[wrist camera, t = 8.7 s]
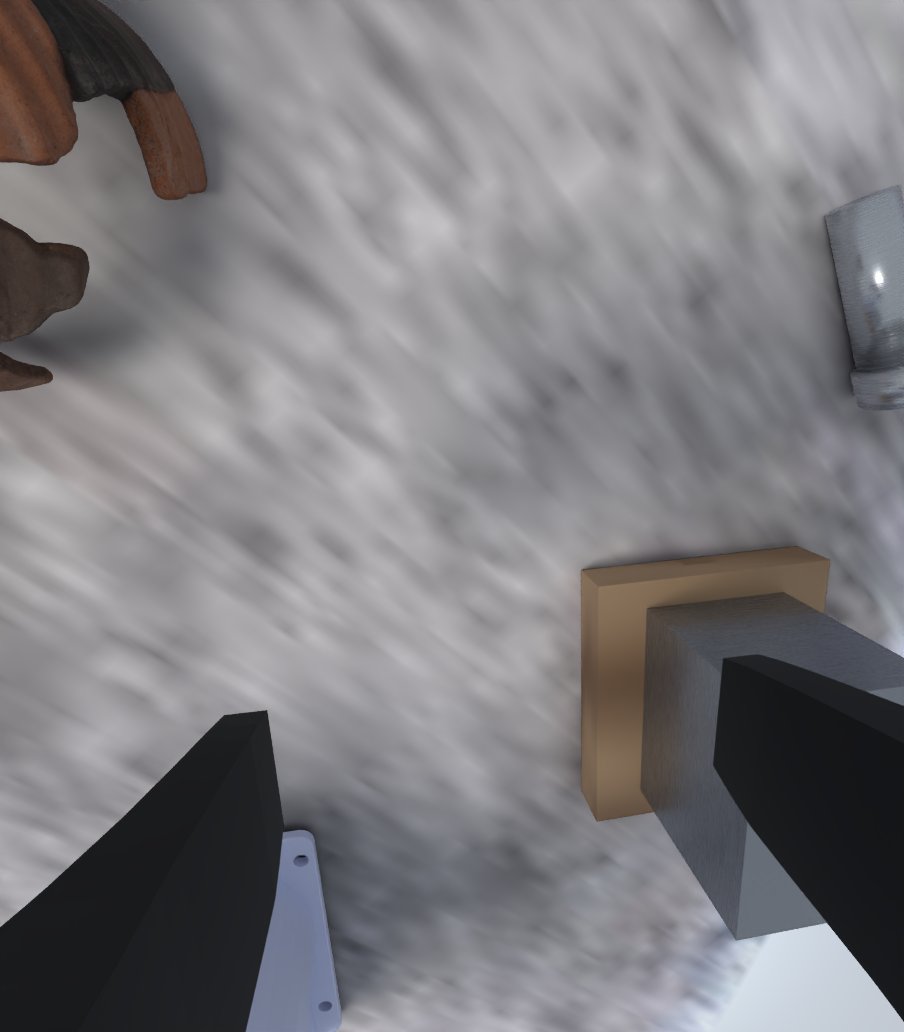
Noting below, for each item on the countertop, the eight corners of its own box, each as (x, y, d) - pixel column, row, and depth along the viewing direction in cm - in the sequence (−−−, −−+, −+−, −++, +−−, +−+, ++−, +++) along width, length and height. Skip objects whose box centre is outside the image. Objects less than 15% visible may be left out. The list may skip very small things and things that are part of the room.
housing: (764, 769, 21) (910, 919, 15) (640, 789, 20) (743, 952, 15) (784, 592, 19) (957, 687, 13) (646, 608, 18) (767, 714, 13)
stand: (775, 760, 23) (802, 787, 21) (581, 791, 22) (596, 821, 20) (797, 546, 20) (830, 559, 19) (581, 570, 19) (598, 587, 18)
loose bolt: (909, 372, 19) (997, 373, 16) (835, 406, 19) (911, 413, 16) (877, 189, 17) (970, 158, 15) (796, 227, 17) (873, 202, 15)
